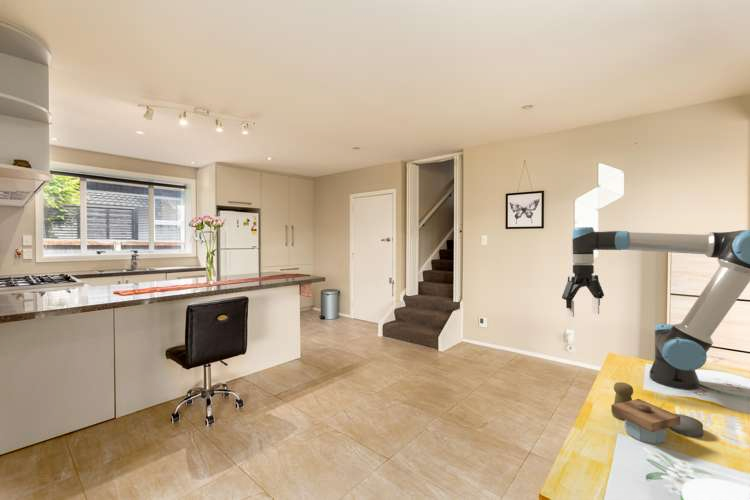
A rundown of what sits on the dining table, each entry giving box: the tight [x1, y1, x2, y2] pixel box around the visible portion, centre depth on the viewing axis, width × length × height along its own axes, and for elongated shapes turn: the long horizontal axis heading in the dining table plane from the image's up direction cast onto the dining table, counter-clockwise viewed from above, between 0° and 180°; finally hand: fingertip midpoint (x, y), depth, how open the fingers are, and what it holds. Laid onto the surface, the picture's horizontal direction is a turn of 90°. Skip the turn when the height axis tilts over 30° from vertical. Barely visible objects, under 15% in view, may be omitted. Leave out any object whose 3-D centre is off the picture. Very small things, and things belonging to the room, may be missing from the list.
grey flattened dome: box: [668, 413, 704, 439], centre depth 103 cm, size 8×8×3 cm
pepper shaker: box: [611, 381, 634, 422], centre depth 111 cm, size 6×6×11 cm
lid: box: [611, 398, 680, 432], centre depth 101 cm, size 12×12×4 cm
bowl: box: [624, 420, 667, 445], centre depth 101 cm, size 9×9×5 cm
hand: (583, 314), depth 143 cm, fingers open, 13 cm apart
